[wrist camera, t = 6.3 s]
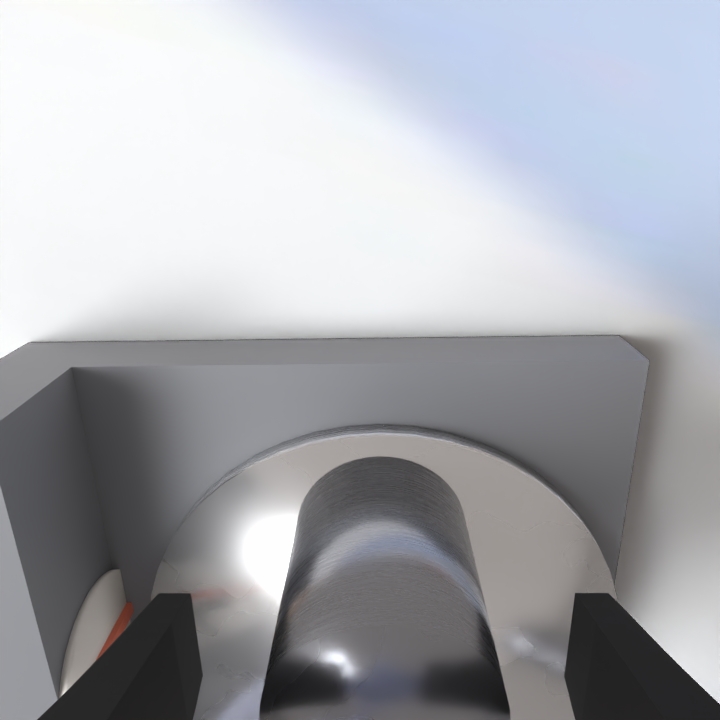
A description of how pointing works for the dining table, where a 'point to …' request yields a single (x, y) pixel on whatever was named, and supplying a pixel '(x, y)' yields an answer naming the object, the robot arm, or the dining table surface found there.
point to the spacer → (382, 605)
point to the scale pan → (486, 532)
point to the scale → (248, 438)
